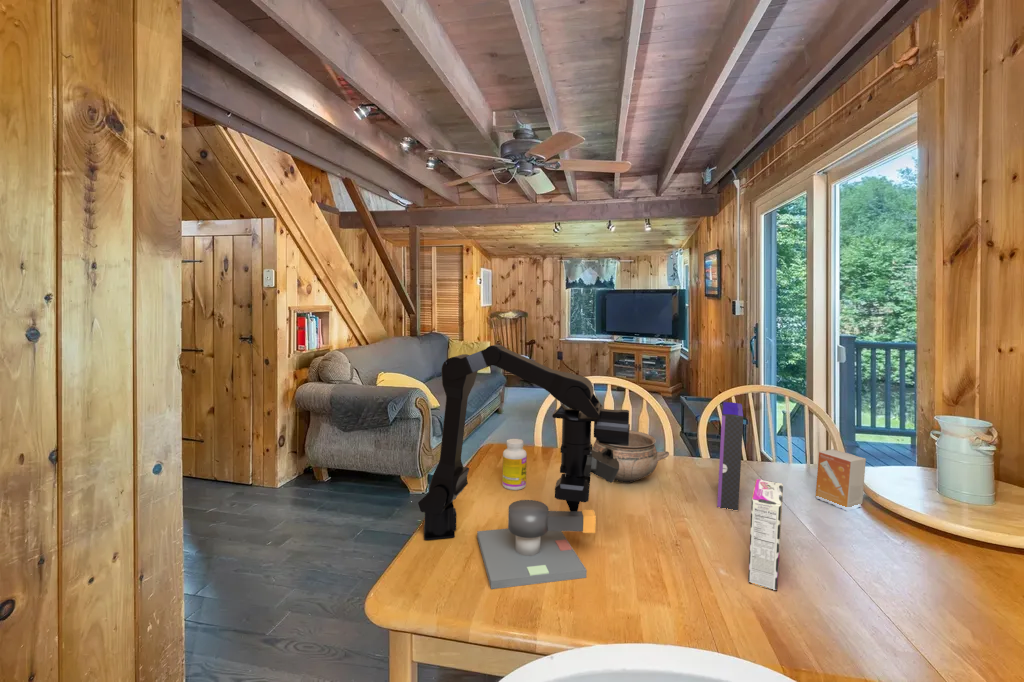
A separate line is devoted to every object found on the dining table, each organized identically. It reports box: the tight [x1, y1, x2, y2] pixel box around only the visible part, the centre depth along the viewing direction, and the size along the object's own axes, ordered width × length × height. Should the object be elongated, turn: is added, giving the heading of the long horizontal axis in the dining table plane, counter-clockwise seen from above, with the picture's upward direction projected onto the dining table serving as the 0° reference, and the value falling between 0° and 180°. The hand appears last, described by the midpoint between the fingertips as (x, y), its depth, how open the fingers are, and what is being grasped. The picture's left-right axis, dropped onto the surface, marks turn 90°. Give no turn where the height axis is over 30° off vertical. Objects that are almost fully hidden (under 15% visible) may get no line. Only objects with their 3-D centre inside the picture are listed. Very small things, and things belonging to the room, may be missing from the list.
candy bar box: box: [747, 478, 784, 591], centre depth 86 cm, size 11×5×16 cm, turn 148°
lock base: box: [476, 527, 588, 590], centre depth 91 cm, size 18×18×6 cm
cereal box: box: [716, 401, 744, 511], centre depth 120 cm, size 17×5×24 cm, turn 154°
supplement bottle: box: [502, 438, 528, 491], centre depth 126 cm, size 7×7×13 cm
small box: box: [815, 449, 867, 507], centre depth 117 cm, size 8×6×13 cm
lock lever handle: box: [507, 499, 597, 538], centre depth 90 cm, size 17×8×4 cm, turn 90°
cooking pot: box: [592, 429, 670, 484], centre depth 133 cm, size 25×19×12 cm
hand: (574, 513), depth 92 cm, fingers closed
